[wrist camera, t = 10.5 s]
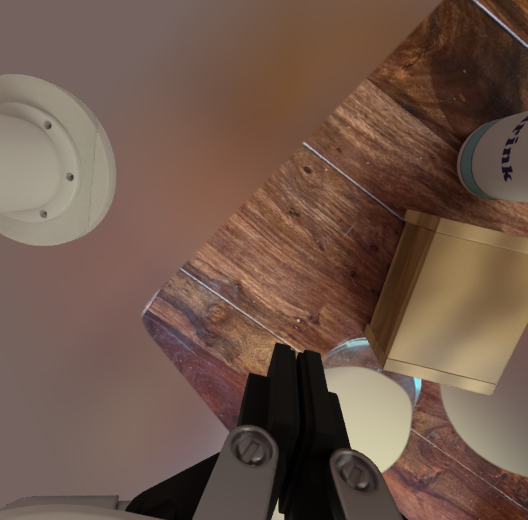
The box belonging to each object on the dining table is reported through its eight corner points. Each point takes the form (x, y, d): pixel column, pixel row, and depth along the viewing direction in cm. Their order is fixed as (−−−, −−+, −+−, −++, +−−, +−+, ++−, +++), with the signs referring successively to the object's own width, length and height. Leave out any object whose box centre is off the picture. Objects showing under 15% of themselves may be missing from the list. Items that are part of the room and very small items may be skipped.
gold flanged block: (363, 332, 35) (382, 369, 28) (406, 208, 31) (441, 217, 24) (451, 353, 35) (491, 396, 28) (504, 232, 31) (565, 247, 24)
